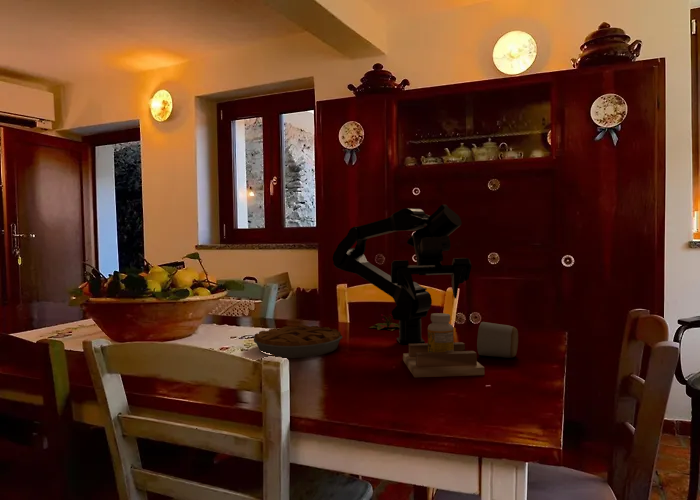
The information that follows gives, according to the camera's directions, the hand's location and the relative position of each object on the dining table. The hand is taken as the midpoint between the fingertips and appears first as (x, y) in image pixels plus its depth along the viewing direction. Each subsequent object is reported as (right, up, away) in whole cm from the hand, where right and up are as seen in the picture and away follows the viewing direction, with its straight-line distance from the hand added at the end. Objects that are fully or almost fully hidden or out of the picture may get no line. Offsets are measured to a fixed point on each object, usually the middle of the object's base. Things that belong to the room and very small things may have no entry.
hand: (435, 298), depth 116 cm
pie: (-32, -14, +11) cm, 37 cm away
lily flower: (-8, -13, +38) cm, 41 cm away
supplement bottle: (0, -12, -9) cm, 15 cm away
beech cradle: (0, -14, -9) cm, 16 cm away
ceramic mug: (+14, -13, +1) cm, 20 cm away
